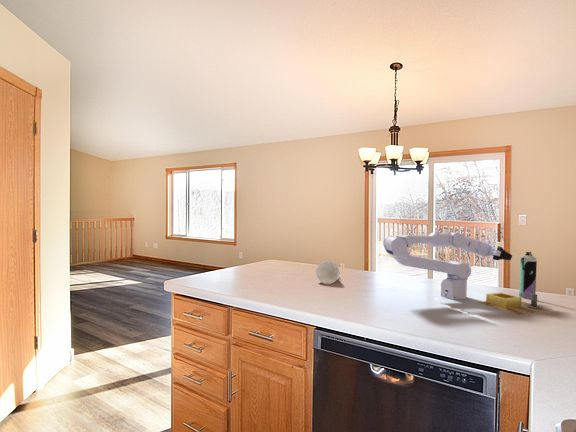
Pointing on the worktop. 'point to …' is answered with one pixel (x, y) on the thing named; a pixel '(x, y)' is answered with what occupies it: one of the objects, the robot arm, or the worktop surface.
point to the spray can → (527, 276)
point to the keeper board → (523, 307)
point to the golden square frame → (503, 300)
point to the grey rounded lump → (327, 272)
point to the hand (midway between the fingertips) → (504, 255)
